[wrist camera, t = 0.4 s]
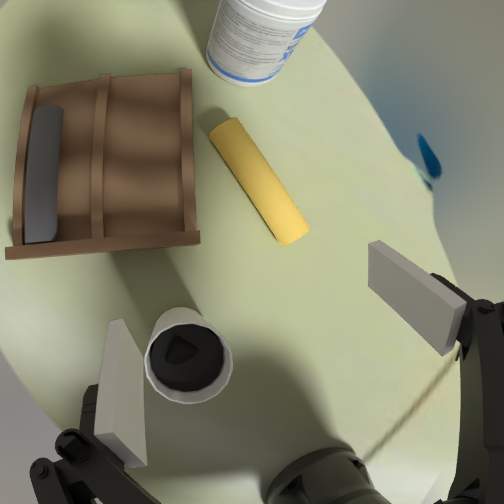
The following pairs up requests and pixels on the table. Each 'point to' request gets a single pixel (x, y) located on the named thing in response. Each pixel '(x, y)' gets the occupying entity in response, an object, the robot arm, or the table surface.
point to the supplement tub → (257, 37)
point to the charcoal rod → (43, 175)
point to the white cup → (187, 357)
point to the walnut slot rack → (115, 166)
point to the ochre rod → (259, 181)
